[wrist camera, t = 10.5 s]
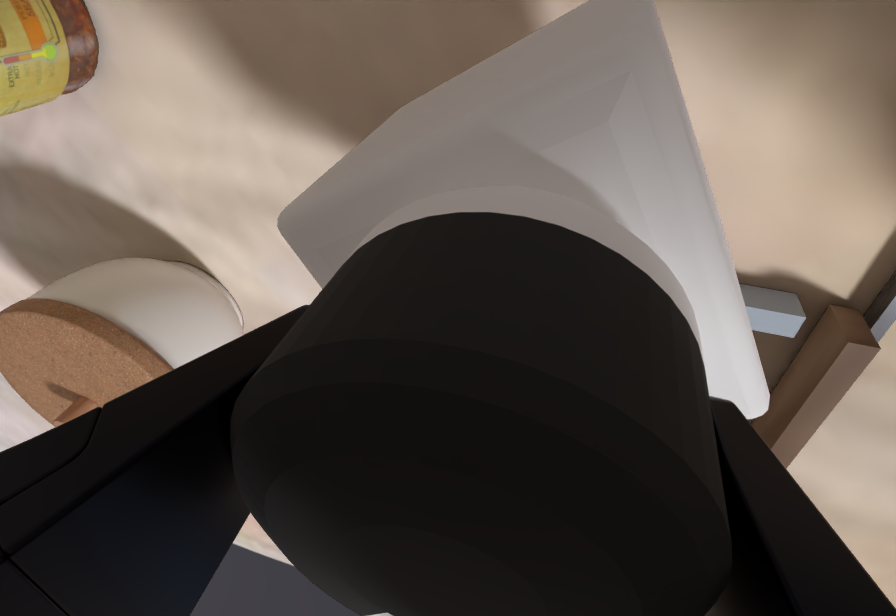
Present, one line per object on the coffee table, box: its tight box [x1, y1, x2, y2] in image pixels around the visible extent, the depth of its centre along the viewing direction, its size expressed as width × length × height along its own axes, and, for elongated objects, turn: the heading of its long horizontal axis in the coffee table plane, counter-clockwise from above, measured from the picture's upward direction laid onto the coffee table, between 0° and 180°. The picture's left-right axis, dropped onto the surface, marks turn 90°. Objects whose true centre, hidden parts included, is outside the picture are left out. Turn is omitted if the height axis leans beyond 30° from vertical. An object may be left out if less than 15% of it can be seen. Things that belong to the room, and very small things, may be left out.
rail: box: [863, 272, 896, 343], centre depth 20 cm, size 1×23×1 cm, turn 178°
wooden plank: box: [751, 305, 881, 468], centre depth 23 cm, size 1×14×2 cm, turn 178°
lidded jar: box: [0, 258, 244, 427], centre depth 27 cm, size 11×11×9 cm
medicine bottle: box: [230, 0, 770, 616], centre depth 10 cm, size 7×7×12 cm
